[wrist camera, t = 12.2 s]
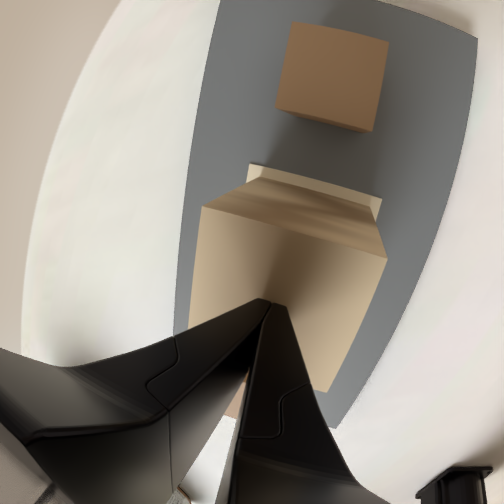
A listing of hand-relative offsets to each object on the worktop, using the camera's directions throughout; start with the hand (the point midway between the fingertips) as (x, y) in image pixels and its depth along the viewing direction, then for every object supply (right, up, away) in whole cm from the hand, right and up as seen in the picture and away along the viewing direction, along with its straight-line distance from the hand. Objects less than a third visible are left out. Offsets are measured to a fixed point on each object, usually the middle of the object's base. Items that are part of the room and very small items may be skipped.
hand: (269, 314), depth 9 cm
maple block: (+2, +2, +5) cm, 6 cm away
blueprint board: (+2, +3, +7) cm, 7 cm away
